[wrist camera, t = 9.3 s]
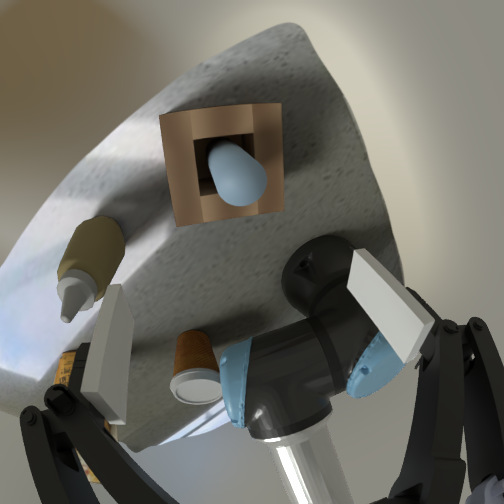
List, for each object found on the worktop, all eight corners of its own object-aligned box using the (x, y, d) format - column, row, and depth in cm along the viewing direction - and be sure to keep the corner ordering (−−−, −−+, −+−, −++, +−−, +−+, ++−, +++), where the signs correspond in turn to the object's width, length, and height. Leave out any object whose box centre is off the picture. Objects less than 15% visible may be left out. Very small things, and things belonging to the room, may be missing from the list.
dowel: (235, 135, 32) (265, 154, 20) (238, 165, 34) (268, 202, 22) (203, 139, 31) (213, 160, 19) (207, 170, 33) (218, 209, 22)
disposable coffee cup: (227, 335, 52) (238, 385, 42) (200, 361, 54) (206, 409, 44) (185, 316, 47) (189, 371, 37) (160, 345, 50) (160, 397, 39)
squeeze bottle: (85, 258, 37) (47, 344, 22) (76, 209, 33) (20, 283, 18) (132, 257, 39) (112, 348, 24) (127, 206, 35) (92, 284, 20)
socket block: (259, 103, 32) (281, 103, 24) (263, 187, 38) (284, 210, 31) (166, 113, 30) (158, 115, 23) (178, 199, 36) (176, 227, 29)
